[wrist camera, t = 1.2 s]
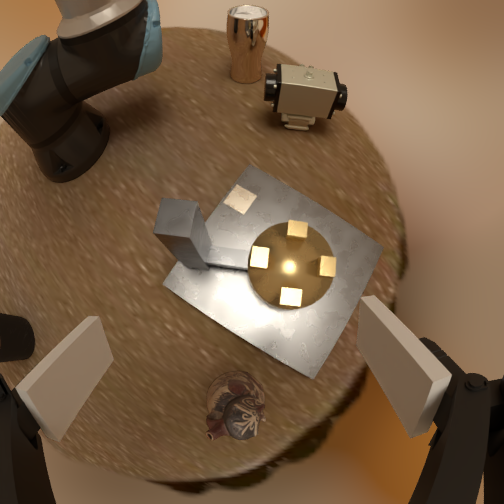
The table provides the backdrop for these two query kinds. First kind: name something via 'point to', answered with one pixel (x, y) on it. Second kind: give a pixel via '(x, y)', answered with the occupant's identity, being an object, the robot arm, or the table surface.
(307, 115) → the pneumatic valve
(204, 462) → the table surface
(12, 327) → the travel mug
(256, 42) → the beer glass
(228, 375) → the figurine
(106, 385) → the table surface
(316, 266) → the metal fixture
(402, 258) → the table surface
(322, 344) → the base plate
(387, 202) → the table surface
